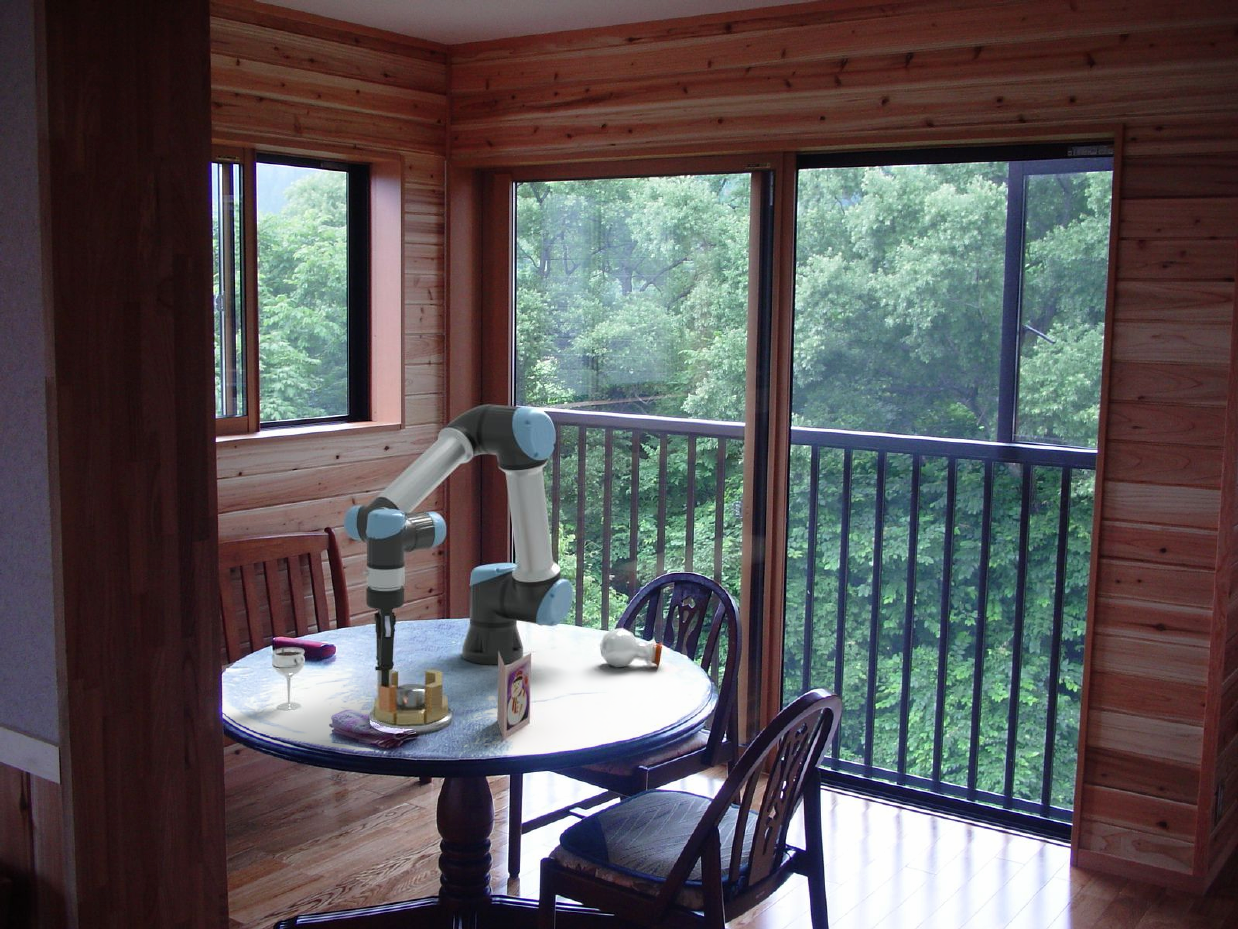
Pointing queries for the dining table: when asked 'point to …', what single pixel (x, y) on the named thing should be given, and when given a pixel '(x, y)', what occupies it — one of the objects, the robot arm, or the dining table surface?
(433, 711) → the gold crown
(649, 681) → the dining table surface
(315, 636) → the dining table surface
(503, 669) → the greeting card
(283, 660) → the wineglass
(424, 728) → the silver round piece
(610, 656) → the potion bottle
